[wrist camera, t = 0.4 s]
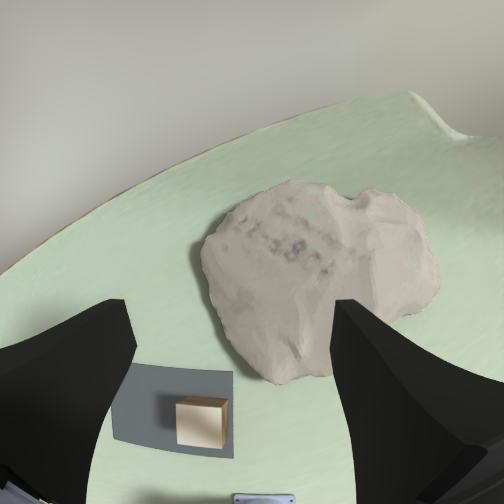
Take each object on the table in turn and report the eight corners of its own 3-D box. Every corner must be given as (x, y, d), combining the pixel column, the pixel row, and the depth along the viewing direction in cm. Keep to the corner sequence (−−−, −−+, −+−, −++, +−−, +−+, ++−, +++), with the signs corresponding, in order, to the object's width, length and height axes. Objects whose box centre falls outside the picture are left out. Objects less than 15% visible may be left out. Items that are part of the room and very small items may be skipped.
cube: (228, 435, 30) (221, 448, 25) (189, 431, 30) (177, 443, 26) (228, 398, 32) (221, 408, 27) (188, 395, 32) (175, 403, 27)
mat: (233, 457, 29) (233, 458, 29) (115, 438, 31) (114, 438, 30) (232, 371, 33) (232, 371, 33) (111, 359, 34) (110, 359, 34)
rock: (450, 321, 32) (239, 390, 34) (394, 174, 39) (202, 227, 41) (479, 317, 24) (224, 404, 27) (409, 144, 31) (182, 204, 34)
